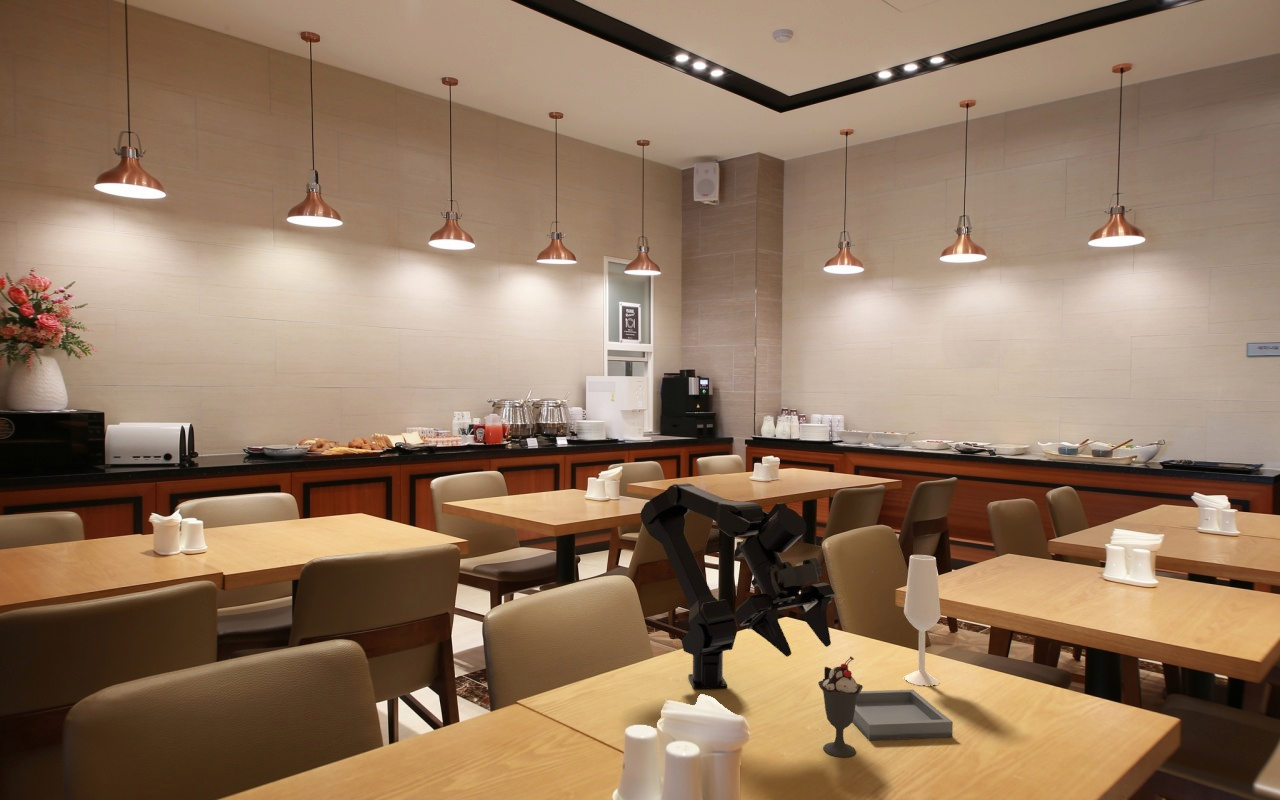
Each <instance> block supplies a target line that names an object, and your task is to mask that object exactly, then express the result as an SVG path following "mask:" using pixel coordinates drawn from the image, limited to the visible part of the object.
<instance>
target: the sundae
mask: <svg viewBox="0 0 1280 800" xmlns="http://www.w3.org/2000/svg"><path fill="white" fill-rule="evenodd" d="M854 659H855V658H854V657H852V656H849V658H848V659H847V660H846V661H845V662H844V663H842V664H840V666H836V667H833V668H831V667H828V666H825V667H824V674H823V675H824V678H823V679H822V680H819V681H818V687H819V688H820V689H821V690H822V694H823V701H824V710H825V715H826V719H827V721H828V722H829V723H830V725H832V726H833V728H835V740H834V742H833V741H832V742H827V743H825V744H824V745H823V746H822V749H823V751H824V752H825V754H828V755H830V756H833V757H837V758H851V757H853V756H855V755H856V753H857V750H856V749H855V747H853V746H852V745H850V744H848V743H846V742H845V739H844V730H845V729H847V728H848V727H849V726H850V725H851V724H852V723H853V718H854V713H855V706H856V699H857V695H858V694H859V693H860V692H861V691H863V690H862V689H863V688H864V687H863V685H862V684H859V683H857V682H856V680H855V678H854V677H853V675H852V671H851V670H849V663H850V662H852V661H854Z"/></svg>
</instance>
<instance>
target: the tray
mask: <svg viewBox="0 0 1280 800" xmlns="http://www.w3.org/2000/svg"><path fill="white" fill-rule="evenodd" d="M852 723H853V724H854V726H856V728H857V729H858V730H859V731H860V732H861V733H862V734H863V735H864V736H865V738H866V739H867V740H868V739H869V741H888V740H891V739H892V740H914V739H915V740H916V739H937V738H939V739H940V738H941V739H943V738H953V728H954V727H953V726H954V724H953V723H954V722H953V721H952V720H951V719H950V718H949V717H947V716H946V715H945V714H943V713H942V712H941V711H940V710H939V709H937V707H935V706H934V705H933V704H932V703H930V702H929V701H928V700H927V699H926V698H924V697H923V696H922V695H921V694H919V693H918V692H916V691H915V689H893V690H892V689H890V690H884V689H883V690H861V692H860V693H859V694H858V695H857V699H856V706H855V713H854V718H853V722H852Z"/></svg>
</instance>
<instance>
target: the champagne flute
mask: <svg viewBox="0 0 1280 800" xmlns="http://www.w3.org/2000/svg"><path fill="white" fill-rule="evenodd" d="M936 559H937V558H936V557H935V556H932V555H926V554H911V555H910V556H909V563H908V573H907V581H906V591H905V600H904V608H903V614H904V616H905V617H906V619H907V621H908V622H909V623H910V624H911V626H913V628H914V629H916V630H917V631H918V670H915V671H913V672H911V673H909V674H907V675H905V676H904V677H905V680H907V681H908V682H911V683H914V684H917V685H928V686H929V685H934V684H935V685H936V684H937V683H939V682H940V680H939V679H937V677H934V676H933V675H931V674H930V673H929V672H927V671H926V631H929V630H930V629H931V628H932V627H934V626H935V625H936V624H938V622H939V620H940V618H941V616H942V614H941V603H940V593H939V592H940V590H939V580H938V569H937V567H938V566H937V560H936ZM905 680H904V681H905ZM938 680H939V681H938ZM908 682H907V683H908ZM917 685H916V686H917Z"/></svg>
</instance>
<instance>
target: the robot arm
mask: <svg viewBox="0 0 1280 800" xmlns="http://www.w3.org/2000/svg"><path fill="white" fill-rule="evenodd" d="M787 505H788V504H787V503H786V502H778V503H776V504H774V505H773V506H772V508H771V510H770V511H769V512H767V511H765V510H763V507H762V505H760V504H759V503H756V502H751V501H742V500H741V501H740V500H728V499H726V498H724V497H721V496H719V495H717V494H714V493H712V492H709V491H706V490H704V489H702V488H699V487H697V486H695V485H694V484H692V483H688V482H685V483H684V482H683V483H674V484H672V485H669V486H668V487H667V489H665V490H664V491H663V492H662V493H660V494H657V495H655V496H654V497H652V498H651V499H650V500H649V501H647V502H645V503H644V505H643V507H642V508H641V510H640V519H641V522H642V524H643V526H644V527H645V530H646V531H647V533H648V534H649V536H650V537H652V538H653V539H654V540H656V541H657V542H658V543H660V544H661V545H662V547H663V549H664V551H665V554H666V556H667V559H668V561H669V563H670V566H671V568H672V570H673V572H674V574H675V576H676V578H677V581H678V583H679V585H680V589H681V591H682V593H683V594H684V597H685V599H686V601H687V604H688V607H689V614H688V621H687V622H688V627H689V631H688V632H687V633H686V634H685V635H684V637H682V639H681V645H682V649H683V650H682V651H684V652H685V653H686V654H689V655H691V656H692V673H690V674H688V676H687V677H688V679H689V682H690V684H691V686H692V688H693V689H695V690H696V689H722V688H725V689H726V688H728V683H727V682H726V680H725V678H724V676H723V675H724V673H723V669H724V668H723V667H724V666H723V665H724V664H723V660H724V658H723V657H724V652H725V651H731V650H733V648H734V643H735V641H736V637H737V633H738V625H739V626H740V627H744V626H746V628H747V630H752V631H753V632H755V633H756V634H758V635H759V636H761V637H762V638H763V639H765V640H766V642H768V643H770V644H771V645H772V646H773V647H774V648H775V649H777V650H778V651H779V652H780V653H781V654H782V655H783V656H785V657H790V656H791V655H792V650H791V647H790V645H789V643H788V641H787V638H786V636H785V633H784V631H783V629H782V627H781V625H780V622H779V611H780V610H785V609H790V608H795V607H797V608H798V610H800V611H801V612H802V613H803V614H801V617H802V618H803V619H804V621H805V623H806V624H807V625H808V627H810V629H811V630H812V632H813V633H814V634H815V635H816V637H817V638H818V639H819V641H820V642H821V643H822V644H823V645H824V647H829V646H831V644H832V643H831V642H832V641H831V636H830V629H829V623H828V614H827V612H828V607H829V604H830V603H832V602H833V601H832V599H833V597H835V596H836V592H834V589H833V588H832V586H831V584H829V583H827V582H820V579H819V577H822V576H823V574H824V572H823V567H822V564H821V563H820V562H819V560H818V559H817V557H813V558H812V557H811V558H808V559H803V561H802V564H800V565H799V564H798V565H795V566H793V565H792V563H791V562H790V561H786V562H784V561H783V560H782V558H781V556H780V555H781V554H782V553H785V552H787V550H788V549H789V548H791V547H792V546H793V545H794V544H795V543H796V542H797V541H798V540H799V539H800V538H801V537H802V536H803V535H805V533H806V532H807V523H806V521H805V519H804V517H803V516H801V514H799V513H798V512H797V511H795V510H794V509H792V508H789V507H788V506H787ZM690 511H692V512H695V513H697V514H699V515H700V516H703V517H706V518H707V519H710V520H712V521H714V522H715V524H716V527H717V528H718V529H719V530H720V531H721V532H723V533H724V534H726V535H727V536H728V537H730V538H736V537H737V538H738V537H744V536H745V537H746V536H747V537H746V539H745V540H743V541H737V542H736V546H735V549H734V551H733V556H734V558H741V557H743V558H744V559H745V561H746V564H747V565H748V568H749V570H750V572H751V574H752V575H753V577H754V578H753V579H752V580H751V581H750V583H751V585H752V587H758V588H759V590H760V592H761V593H758V594H754V595H750V596H748V597H747V598H746V599H745V600H744V601H743V602H742V603H741V604H740V605H739V606H737V607H736V608H735V614H734V612H733V611H732V608H731V605H730V603H729V602H728V600H727V599H720V600H719V599H718V598H716V597H715V596H714V595H713V593H712V591H711V588H710V587H709V585H708V582H707V580H706V578H705V576H704V574H703V572H702V569H701V568H700V565H699V563H698V561H697V559H696V556H695V555H694V554H695V553H694V552H693V551H692V548H691V546H690V544H689V542H688V539H687V537H686V535H685V529H686V517H685V516H686V515H687V514H688V513H689V512H690ZM819 582H820V583H819ZM809 583H810V585H809V586H808V587H806V585H808V584H809ZM811 583H814V584H811ZM805 588H806V589H805ZM804 589H805V590H804ZM802 590H803V591H802ZM801 591H802V592H801ZM799 592H801V593H799ZM736 620H737V621H736ZM737 623H738V624H737Z"/></svg>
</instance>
